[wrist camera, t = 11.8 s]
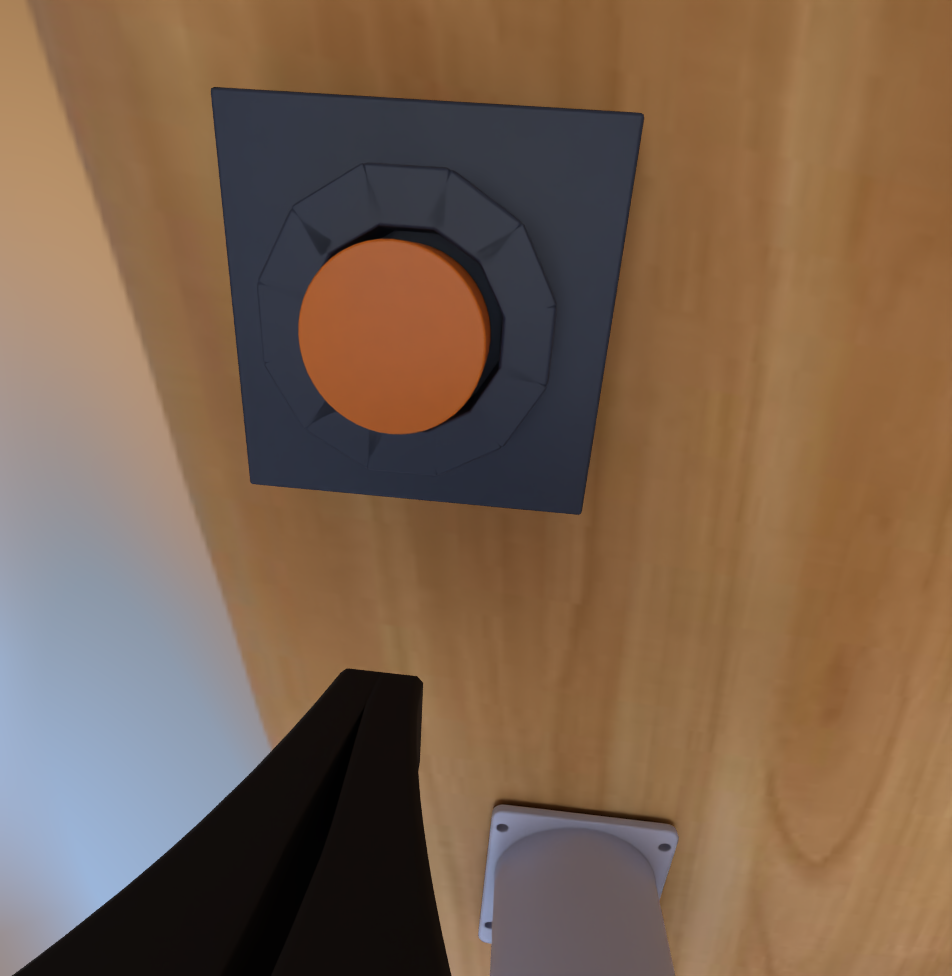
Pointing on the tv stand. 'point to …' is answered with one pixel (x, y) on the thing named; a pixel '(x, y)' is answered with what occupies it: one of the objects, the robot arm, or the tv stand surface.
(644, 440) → the tv stand surface
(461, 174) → the block
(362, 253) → the button
